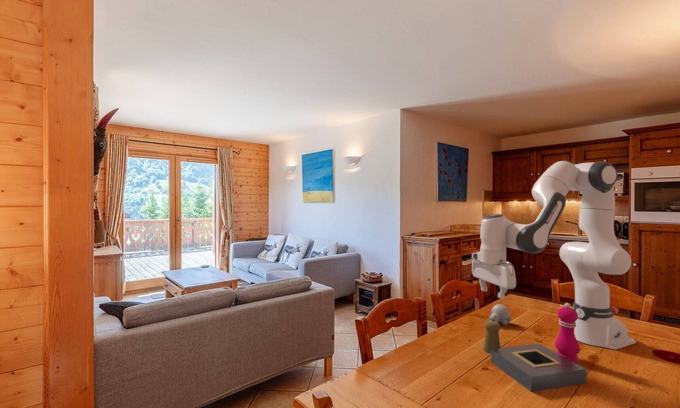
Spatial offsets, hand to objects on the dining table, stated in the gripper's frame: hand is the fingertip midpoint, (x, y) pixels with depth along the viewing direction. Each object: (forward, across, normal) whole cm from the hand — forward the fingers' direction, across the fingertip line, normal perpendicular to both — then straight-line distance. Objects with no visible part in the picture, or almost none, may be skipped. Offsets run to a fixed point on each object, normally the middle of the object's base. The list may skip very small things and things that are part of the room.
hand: (492, 294), depth 120 cm
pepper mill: (+21, -11, -22) cm, 33 cm away
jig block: (+21, -16, -4) cm, 27 cm away
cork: (+22, 0, 0) cm, 22 cm away
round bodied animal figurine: (+21, +22, -20) cm, 37 cm away
